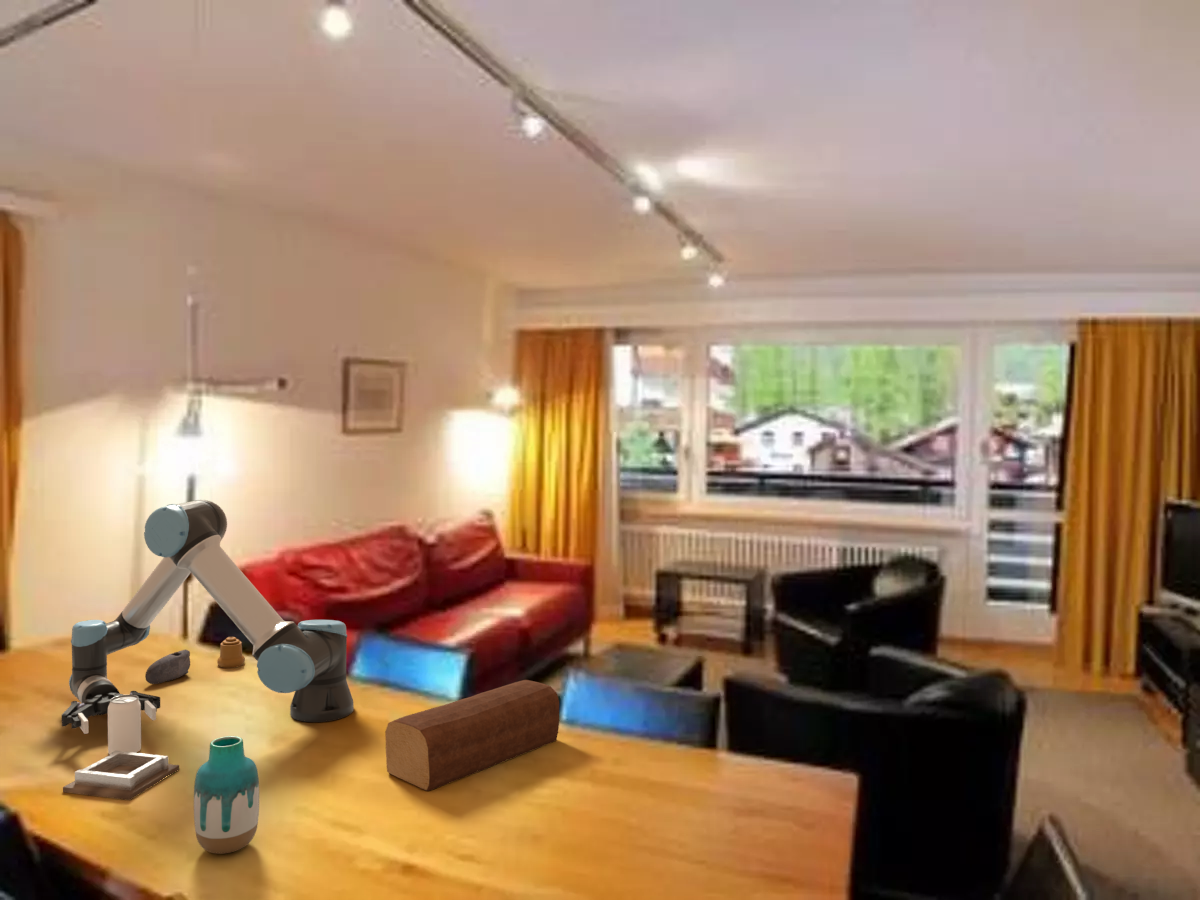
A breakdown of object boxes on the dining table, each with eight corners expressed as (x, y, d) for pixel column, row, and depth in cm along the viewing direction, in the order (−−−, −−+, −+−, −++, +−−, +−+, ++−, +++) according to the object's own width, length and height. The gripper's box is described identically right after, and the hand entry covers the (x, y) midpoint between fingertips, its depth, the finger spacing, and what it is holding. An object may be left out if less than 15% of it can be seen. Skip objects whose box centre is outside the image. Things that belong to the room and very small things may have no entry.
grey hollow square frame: (168, 767, 193) (168, 756, 193) (130, 790, 182) (130, 778, 182) (115, 762, 196) (115, 750, 195) (74, 784, 184) (74, 771, 184)
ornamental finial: (248, 665, 269) (222, 670, 264) (239, 659, 275) (213, 664, 270) (248, 638, 269) (222, 642, 264) (239, 633, 274) (213, 637, 269)
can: (127, 759, 200) (126, 704, 199) (101, 756, 201) (100, 702, 200) (147, 748, 206) (147, 695, 205) (122, 745, 207) (121, 692, 207)
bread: (561, 742, 215) (562, 685, 214) (428, 795, 185) (429, 729, 184) (515, 726, 225) (515, 671, 224) (382, 773, 195) (382, 711, 194)
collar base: (179, 769, 195) (179, 765, 195) (129, 800, 180) (129, 795, 180) (116, 762, 198) (116, 758, 198) (62, 792, 183) (62, 787, 183)
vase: (206, 834, 167) (205, 730, 166) (266, 833, 168) (266, 729, 166) (184, 864, 156) (183, 753, 155) (249, 862, 157) (248, 752, 156)
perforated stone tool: (152, 689, 246) (152, 663, 246) (138, 686, 248) (138, 661, 248) (197, 674, 260) (197, 649, 260) (183, 671, 262) (183, 647, 262)
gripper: (155, 700, 228) (181, 725, 212) (38, 722, 212) (56, 750, 196) (155, 670, 228) (180, 692, 212) (37, 690, 212) (56, 715, 195)
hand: (121, 720), depth 204 cm, fingers open, 13 cm apart
